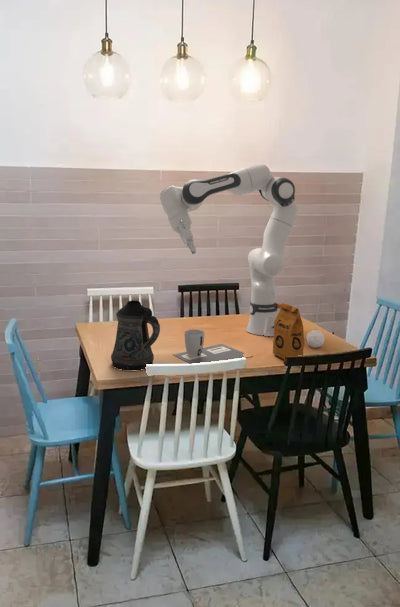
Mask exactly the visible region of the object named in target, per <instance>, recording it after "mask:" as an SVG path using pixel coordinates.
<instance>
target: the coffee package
mask: <svg viewBox="0 0 400 607" xmlns="http://www.w3.org/2000/svg"><path fill="white" fill-rule="evenodd" d="M279 304H280V307H281V309H279V310H278V311H279V313H278V315H277V317H276V319H275V321H274V336H273V340H272V354H273V355H275V356H277V357H279V358H280V357H281V358H280V359H282V360H284V357H285V356H298V355H303V356H304V347H305V332H304V325H303V321H302V317H301V313H300V310H299V308H298V307H296V306H294V305H291V304H287V303H285V302H281V303H279Z"/></svg>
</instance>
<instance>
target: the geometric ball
mask: <svg viewBox="0 0 400 607" xmlns="http://www.w3.org/2000/svg"><path fill="white" fill-rule="evenodd" d="M325 340H326V338H325V335H324V333H323V332H322V331H321V330H318V329H313V330H311V331H309V332H308V333H307V335H306V342H307V345H309V347H311V348H312V347H314V348H315V349H317V348H320V347H322V346H323V345H324V343H325ZM314 348H313V349H314Z"/></svg>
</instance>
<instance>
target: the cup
mask: <svg viewBox="0 0 400 607" xmlns="http://www.w3.org/2000/svg"><path fill="white" fill-rule="evenodd" d="M183 332H184V344H185V350H186V351H185V352H187V354H188V356H189V357H191V358H197V357H200V355H201V353H202V349H203V348H204V344H205V343H204V342H205V331H204V330H202V329H194V328H193V329H186V330H185V331H183Z"/></svg>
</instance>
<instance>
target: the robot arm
mask: <svg viewBox="0 0 400 607" xmlns="http://www.w3.org/2000/svg"><path fill="white" fill-rule="evenodd" d="M271 173H272V172H271V169H270V168H269V167H268V166H267V165H265V164H263V163H262V164H254V165H249V166H244V167H242V168H239V169H237V170H234V171H231V172H230V173H227V174H224V175H220V176H216V177H213V178H208V179H194V178H193V179H190V180H188V181H186V182H185V183H184V185H183V186H182V187H180V186H175V185H172V184H171V185H170V186H167V187H165V188H163V190H162V191H161V192H160V196H159V201H160V203H161V205H162V208H163V210H164V212H165V213H164V214H166V215H167V218H168V222H169V224H170V226H171V229H172V231H173V232H176V233H177V234H178V235H179V237H180V239H181V240H182V243H184V245H185V247H188V249H189V250H190V252H191V254H192V255H195V254H196V253H197V252H196V250H197V249H196V247H195V243H194V236H193V235H194V234H193V233H192V230H191V228H192V226H191V225H192V223H193V221H192V219H191V216H190V215H189V212H193V211H196V210H198V209H199V208H201V205H202V204H203V202H204V200H205V199H207V198H208V197H209V196H212V195H214V194H216V195H217V194H218V193H222V192H226V191H228V192H230V193H232V195H235V196H241V195H247V194H250V193H253V192H255V191H258V192H259V195H260V196H261V197H262V199H264V200H265V201H267V202H272V203H273V210H272V212H271V215H270V217H269V220H268V222H267V225H266V227H265V229H264V231H263V241H262V245H261V247H257V248H253V249H252V250H250V252H249V253H248V255H247V262H248V267H249V274H250V281H251V282H250V284H251V292H250V293H251V295H250V296H251V297H250V298H251V299H250V302H249V319H248V323H247V327H246V332H248V333H249V334H252V335H256V336H263V335H264V337H268V336H270V337H274V321H275V319H276V317H277V315H278V313H279V311H280V309H281V307H280V304H281V303H277V302H275V300H276V284H275V280H274V277H275V276H277V275H278V274H280V272H282V270H283V268H284V261H283V259H284V253H285V250H286V249H285V248H286V245H287V244H286V243H287V241H288V239H289V236H290V234H291V231H292V229H293V227H294V225H295V221H296V217H297V215H298V214H297V213H298V209H299V206H298V203H297V202H296V201H295V198H296V197H295V195H296V187H295V185H294V182H293V181H292V180H290V179H289V178H286V177H281V176H273V175H272V174H271Z"/></svg>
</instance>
